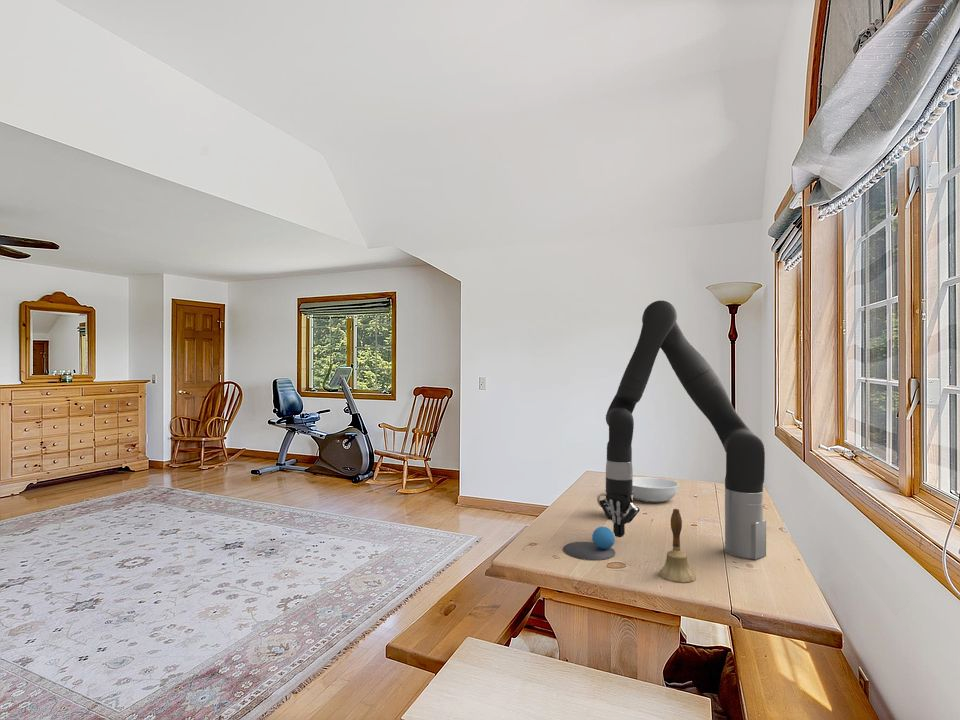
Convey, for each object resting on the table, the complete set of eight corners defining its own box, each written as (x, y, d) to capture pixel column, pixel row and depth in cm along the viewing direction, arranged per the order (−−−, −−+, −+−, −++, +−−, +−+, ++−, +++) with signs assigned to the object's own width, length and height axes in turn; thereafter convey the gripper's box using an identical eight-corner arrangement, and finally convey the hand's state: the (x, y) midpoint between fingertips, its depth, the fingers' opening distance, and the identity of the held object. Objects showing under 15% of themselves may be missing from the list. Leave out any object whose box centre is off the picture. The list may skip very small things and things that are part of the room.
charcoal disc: (626, 552, 139) (626, 552, 139) (591, 564, 131) (591, 563, 131) (586, 539, 151) (586, 538, 151) (552, 548, 142) (552, 548, 142)
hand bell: (654, 577, 123) (654, 510, 123) (663, 566, 130) (663, 503, 130) (691, 586, 118) (691, 516, 119) (698, 574, 125) (698, 508, 126)
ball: (610, 532, 138) (607, 554, 138) (619, 528, 143) (616, 549, 143) (590, 526, 142) (587, 547, 142) (599, 522, 147) (596, 543, 147)
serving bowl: (675, 495, 205) (675, 478, 205) (681, 509, 185) (681, 489, 185) (621, 491, 211) (621, 474, 211) (621, 504, 191) (621, 485, 191)
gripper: (646, 478, 146) (646, 540, 146) (609, 471, 157) (608, 528, 156) (630, 481, 141) (630, 545, 141) (592, 473, 152) (592, 532, 152)
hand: (618, 536), depth 149 cm, fingers closed
